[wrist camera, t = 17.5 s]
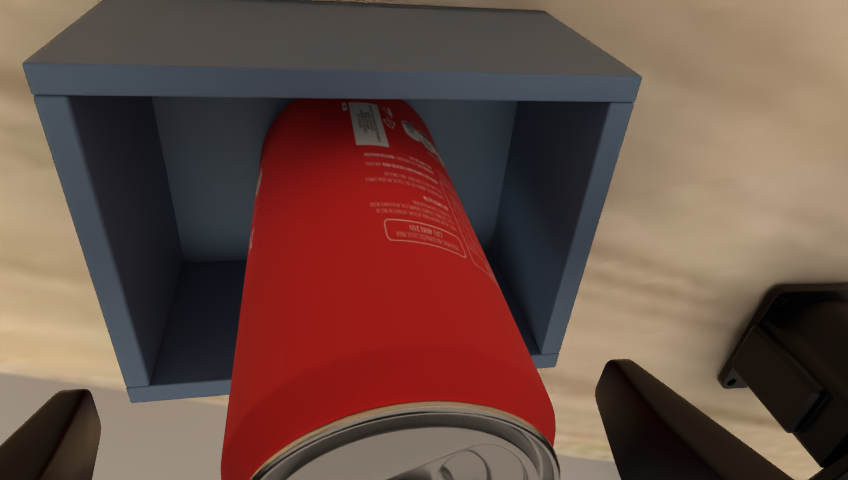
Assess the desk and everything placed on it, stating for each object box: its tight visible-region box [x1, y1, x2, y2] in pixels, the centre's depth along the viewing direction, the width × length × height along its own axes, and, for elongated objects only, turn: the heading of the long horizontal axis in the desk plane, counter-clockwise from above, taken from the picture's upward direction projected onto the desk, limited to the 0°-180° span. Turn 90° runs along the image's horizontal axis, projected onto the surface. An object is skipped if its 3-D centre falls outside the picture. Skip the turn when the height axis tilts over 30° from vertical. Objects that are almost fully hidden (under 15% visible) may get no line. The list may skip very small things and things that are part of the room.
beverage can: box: [221, 98, 560, 480], centre depth 13 cm, size 5×5×12 cm
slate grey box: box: [23, 0, 642, 403], centre depth 16 cm, size 12×6×9 cm
